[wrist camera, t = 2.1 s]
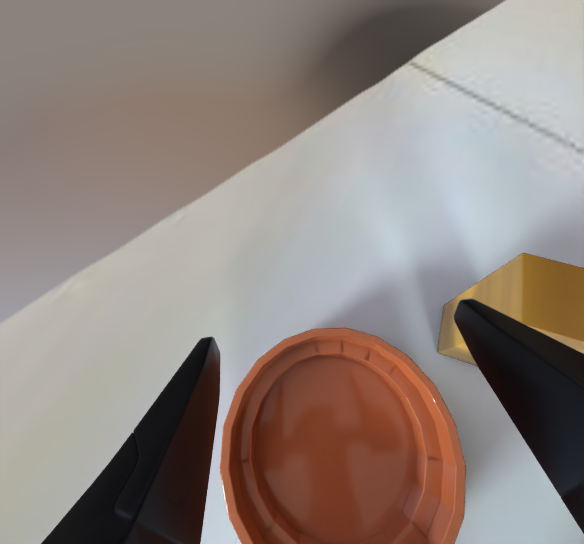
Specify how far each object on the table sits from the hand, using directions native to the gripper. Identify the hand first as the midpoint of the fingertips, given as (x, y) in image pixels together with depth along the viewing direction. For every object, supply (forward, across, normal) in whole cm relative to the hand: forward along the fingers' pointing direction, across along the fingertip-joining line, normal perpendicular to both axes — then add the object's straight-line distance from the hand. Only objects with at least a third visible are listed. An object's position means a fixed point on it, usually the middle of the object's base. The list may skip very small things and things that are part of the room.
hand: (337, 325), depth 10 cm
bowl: (+2, 0, +15) cm, 16 cm away
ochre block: (+7, -13, +12) cm, 20 cm away
